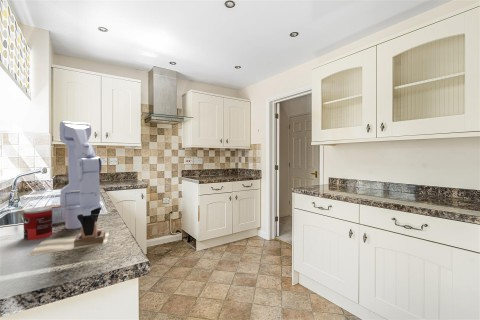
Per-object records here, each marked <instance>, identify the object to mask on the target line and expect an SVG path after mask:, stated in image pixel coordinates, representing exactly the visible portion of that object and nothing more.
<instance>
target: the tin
mask: <svg viewBox="0 0 480 320" xmlns="http://www.w3.org/2000/svg"><path fill="white" fill-rule="evenodd" d="M43 207H52V226H54V225H59V224H65V208H62V207H61V204H53V205H47V206H46V205H45V206H44V205H43Z"/></svg>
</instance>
